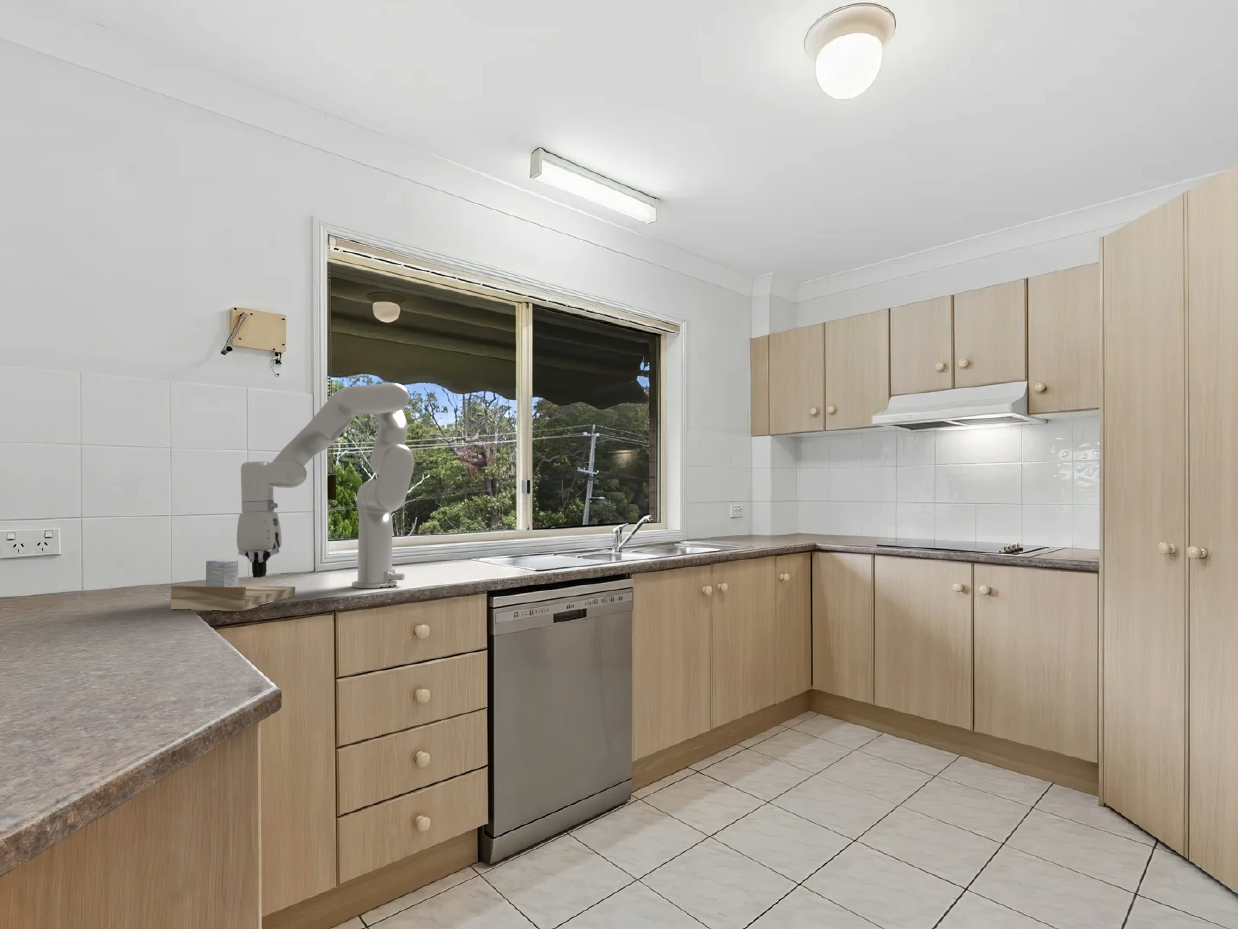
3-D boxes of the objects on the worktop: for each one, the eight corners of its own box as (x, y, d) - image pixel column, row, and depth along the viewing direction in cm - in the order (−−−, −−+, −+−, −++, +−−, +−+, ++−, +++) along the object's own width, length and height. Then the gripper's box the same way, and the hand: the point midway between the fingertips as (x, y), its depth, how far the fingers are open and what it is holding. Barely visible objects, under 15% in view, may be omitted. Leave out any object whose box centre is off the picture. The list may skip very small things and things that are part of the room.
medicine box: (238, 591, 187) (239, 560, 187) (223, 593, 183) (224, 561, 183) (220, 589, 190) (221, 558, 191) (204, 591, 186) (205, 560, 187)
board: (231, 594, 180) (231, 574, 180) (295, 596, 179) (295, 575, 179) (170, 609, 158) (171, 586, 158) (242, 611, 157) (243, 587, 157)
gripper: (292, 506, 180) (294, 574, 180) (240, 507, 181) (241, 575, 181) (276, 508, 172) (278, 578, 172) (221, 509, 174) (223, 579, 173)
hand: (259, 576), depth 177 cm, fingers closed
